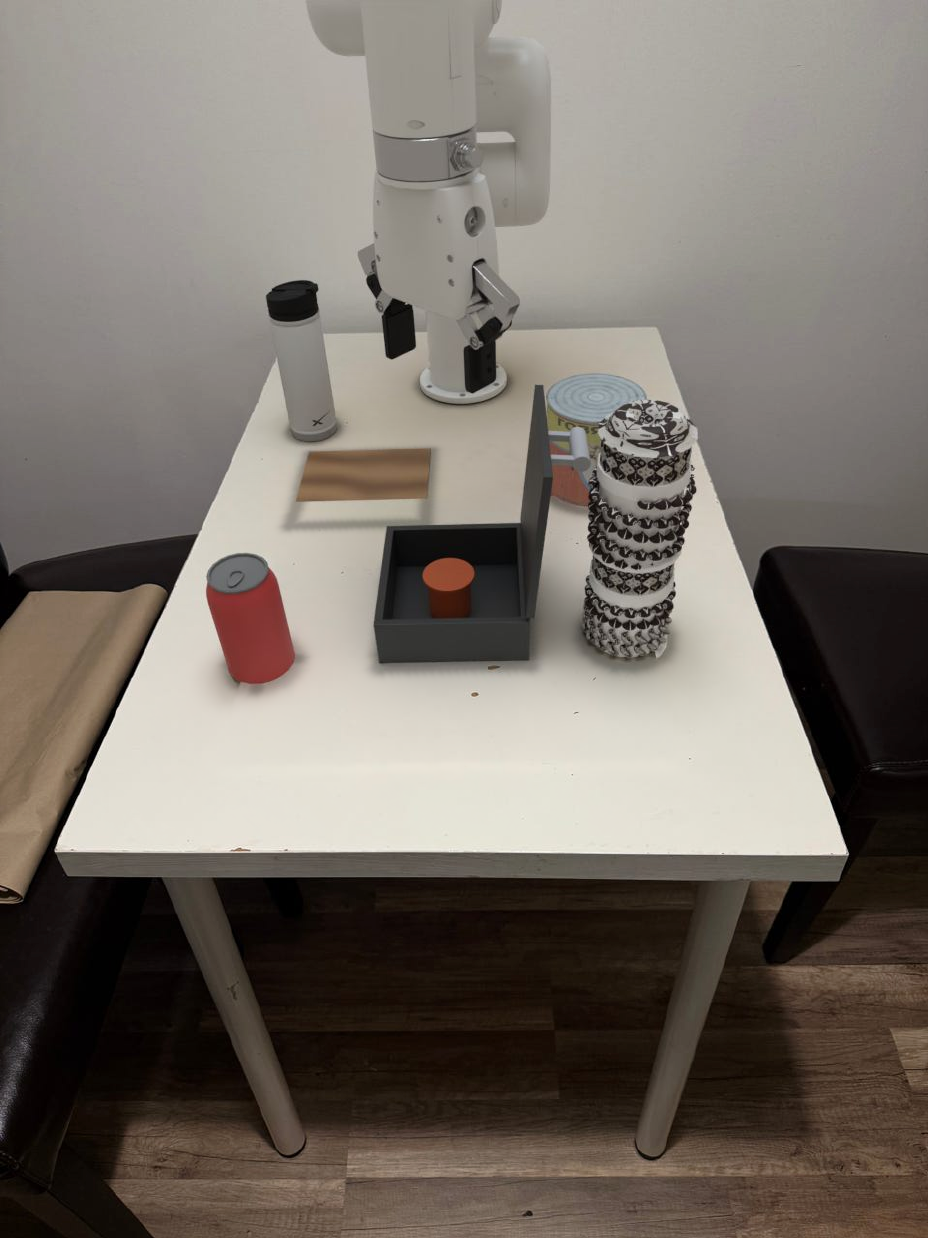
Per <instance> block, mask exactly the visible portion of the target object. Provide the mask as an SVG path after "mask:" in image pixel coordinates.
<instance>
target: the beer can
mask: <svg viewBox="0 0 928 1238" xmlns="http://www.w3.org/2000/svg"><path fill="white" fill-rule="evenodd" d="M205 577H206V588H205V596H206V601H207V605H208V609H209V612H210V615H211V618H212V621H213V625H214V627H215V628H214V629H215V631H216V634H217V637H218V641H219V643H220V647H221V651H222V653H223V657H224V660H225V663H226V666H227V670H228V673H229V674H230V675H231V677H232V678H233V679H234V680H235V681H237V682H239V683H244V684H245V683H246V684H249V685H254V684H255V685H256V684H257V685H258V684H260V685H261V684H265V683H269V682H272V681H274V680H277V679H278V678H280V677H282V676H284V675H285V674H286V673H287V672H289V670H290V669H291V667H292V666H293V664H294V662H295V657H296V653H295V649H294V644H293V640H292V636H291V632H290V628H289V623H288V618H287V615H286V614H287V613H286V610H285V606H284V601H283V598H282V594H281V589H280V584H279V582H278V578H277V576H276V575H275V573H274V571H273V570H272V569H271V568H270V567H269V563H268V561H266V559H265V558H264V557H262V556H260V555H258V554H256V553H251V552H236V553H232V554H228V555H225V556H224V557H222V558H220V559H218V560H217V561H215V562H214V563H213V564H212V565H211V566H210V567H209V569H208V570H207V573H206V575H205Z"/></svg>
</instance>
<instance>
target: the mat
mask: <svg viewBox="0 0 928 1238" xmlns="http://www.w3.org/2000/svg"><path fill="white" fill-rule="evenodd" d="M431 453H432V449H431V447H430V448H429V447H424V448H393V449H392V448H389V449H387V448H386V449H355V450H353V449H352V450H351V449H350V450H349V449H348V450H317V451H308V454H307V457H306V461H305V464H304V468H303V472H302V475H301V480H300V483H299V487H298V491H297V495H296V498H295V503H304V502H305V503H309V502H310V503H311V502H339V501H340V502H342V501H343V502H348V501H351V502H352V501H385V500H388V501H389V500H424V499H425V500H426V499H428V491H429V489H428V488H429V480H430V479H429V477H430V467H431V466H430V465H431Z"/></svg>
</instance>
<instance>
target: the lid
mask: <svg viewBox="0 0 928 1238" xmlns="http://www.w3.org/2000/svg"><path fill="white" fill-rule="evenodd" d="M533 389H534V390H533V399H532V409H531V417H530V426H529V436H528V446H527V452H526V453H527V454H526V462H525V463H526V464H525V472H524V480H523V491H522V499H521V508H520V517H519V520H520V522H519V523H521V542H522V560H523V579H524V598H525V616H526V618H530V619H535V616H536V615H535V614H536V606H537V599H538V593H539V585H540V579H541V578H540V577H541V571H542V563H543V556H544V547H545V540H546V535H547V534H546V532H547V526H548V519H549V511H550V503H551V496H552V495H551V490H552V482H553V471H552V465H559V466H572V467H573V469H574V470H576V471H578V472H584V471H586V470H588V469H589V467H590V465H591V462H590V456H589V450H588V443H587V437H586V432H585V430H584V429H583V428H581V427H574V428H572V429H571V430H570V431H569V432H563V431H548V424H547V404H546V397H545V396H546V395H545V388H544V384H534V388H533ZM549 441H559V442H569V445H570V453H571V455H551V452H550V443H549Z"/></svg>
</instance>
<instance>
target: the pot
mask: <svg viewBox="0 0 928 1238" xmlns="http://www.w3.org/2000/svg"><path fill="white" fill-rule="evenodd" d="M474 577H475V573H474V569H473V567H472V566H471V565H470V564H469V563H468V562H466V561H464V560H461V559H457V558H443V559H439V560H436V561H434V562H432V563H430V564H429V565H428V566H427V567H426V568H425V569H424V571H423V582H424V584H425V585H426V586H427V587H428V597H429V608H430V613H431V615H432V616H433V617H434V618H436V619H438V618H466V617H467V616H468V615H469V614H470V613H471V610H472V595H471V584H472V583H473V581H474Z"/></svg>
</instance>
